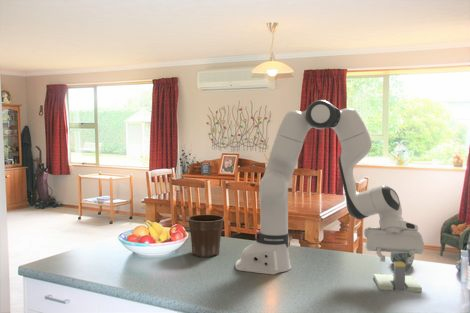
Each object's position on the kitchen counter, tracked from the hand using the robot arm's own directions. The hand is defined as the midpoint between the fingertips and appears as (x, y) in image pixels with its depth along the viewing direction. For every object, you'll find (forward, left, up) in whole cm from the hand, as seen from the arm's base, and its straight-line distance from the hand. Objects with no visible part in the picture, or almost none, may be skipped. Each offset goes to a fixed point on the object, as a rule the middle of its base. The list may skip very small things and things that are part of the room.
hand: (396, 261), depth 154 cm
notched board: (0, 0, -8) cm, 8 cm away
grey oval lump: (+7, +23, -9) cm, 26 cm away
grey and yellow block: (0, -3, -8) cm, 9 cm away
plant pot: (-76, +26, -9) cm, 81 cm away
